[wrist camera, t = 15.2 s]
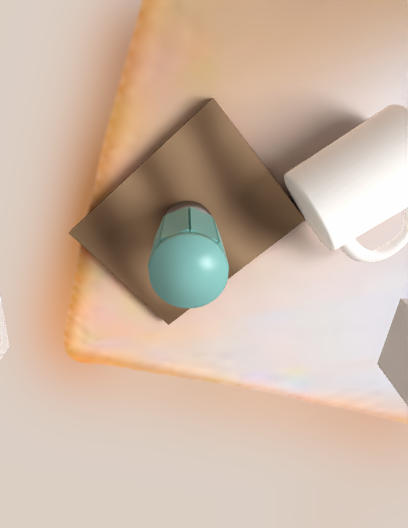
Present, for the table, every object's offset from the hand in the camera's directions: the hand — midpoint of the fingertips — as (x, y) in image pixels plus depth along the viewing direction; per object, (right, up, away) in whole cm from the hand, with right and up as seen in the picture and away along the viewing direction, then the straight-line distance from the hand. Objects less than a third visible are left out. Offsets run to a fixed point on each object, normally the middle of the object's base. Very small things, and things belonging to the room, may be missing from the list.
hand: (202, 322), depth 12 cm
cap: (-1, +4, +18) cm, 19 cm away
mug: (+14, +9, +23) cm, 28 cm away
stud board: (-2, +6, +23) cm, 24 cm away
